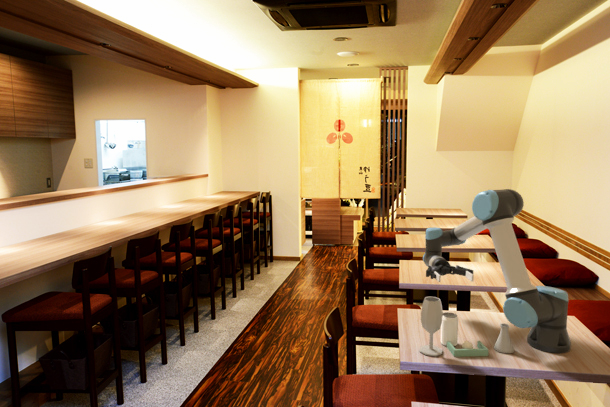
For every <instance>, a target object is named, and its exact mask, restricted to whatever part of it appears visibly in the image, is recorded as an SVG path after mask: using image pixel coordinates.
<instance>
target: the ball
mask: <svg viewBox="0 0 610 407" xmlns="http://www.w3.org/2000/svg"><path fill="white" fill-rule="evenodd" d="M461 345H462V346H461V347H462V348H461V349H474V345H473V342H471V341H469V340H466V341H463V342H462V344H461Z"/></svg>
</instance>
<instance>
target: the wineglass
mask: <svg viewBox="0 0 610 407" xmlns="http://www.w3.org/2000/svg"><path fill="white" fill-rule="evenodd" d="M443 313H444V312H443V305H442V301H441V299H440V298H439V297H436V296H425V297H424V299H423V301H422V305H421V312H420V322H421V327H422V328H423V329H424V330H425V331H427V333H428V334H429V340H428V341H429V344H425V345H421V346H420V348H419V353H421V354H423V355H425V356H429V357H438V356H441V355H442V354H443V348H441V347H438V346H437V345H434V334H436V332H438V331H439V330H441V323H442V320H443Z"/></svg>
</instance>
